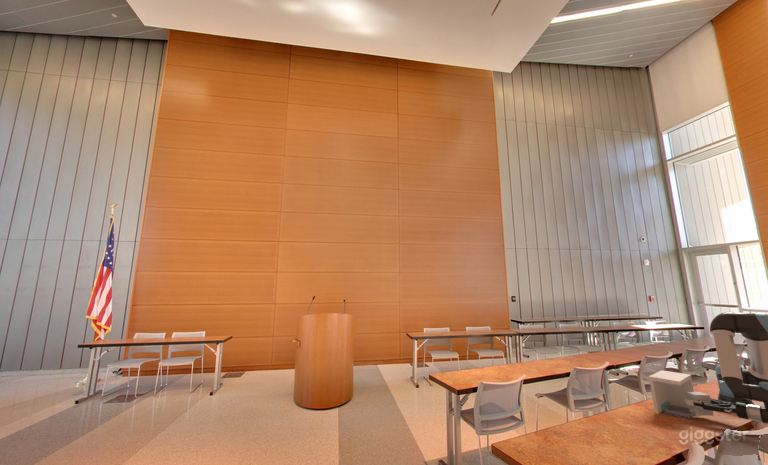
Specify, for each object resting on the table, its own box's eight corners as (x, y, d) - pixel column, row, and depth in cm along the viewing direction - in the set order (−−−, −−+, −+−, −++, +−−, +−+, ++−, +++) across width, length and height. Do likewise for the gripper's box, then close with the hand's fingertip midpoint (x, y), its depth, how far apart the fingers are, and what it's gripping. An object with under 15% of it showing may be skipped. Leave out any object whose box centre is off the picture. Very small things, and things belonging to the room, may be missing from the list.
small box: (704, 412, 171) (700, 391, 173) (714, 415, 166) (709, 395, 168) (689, 411, 172) (685, 391, 174) (698, 415, 167) (694, 394, 169)
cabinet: (697, 411, 179) (690, 374, 182) (687, 421, 165) (679, 381, 169) (667, 404, 189) (661, 370, 193) (655, 413, 176) (648, 376, 180)
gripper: (747, 425, 149) (684, 411, 167) (753, 414, 161) (694, 402, 179) (743, 408, 150) (681, 396, 168) (749, 399, 163) (691, 389, 181)
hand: (688, 399), depth 174 cm, fingers closed on small box, 9 cm apart
